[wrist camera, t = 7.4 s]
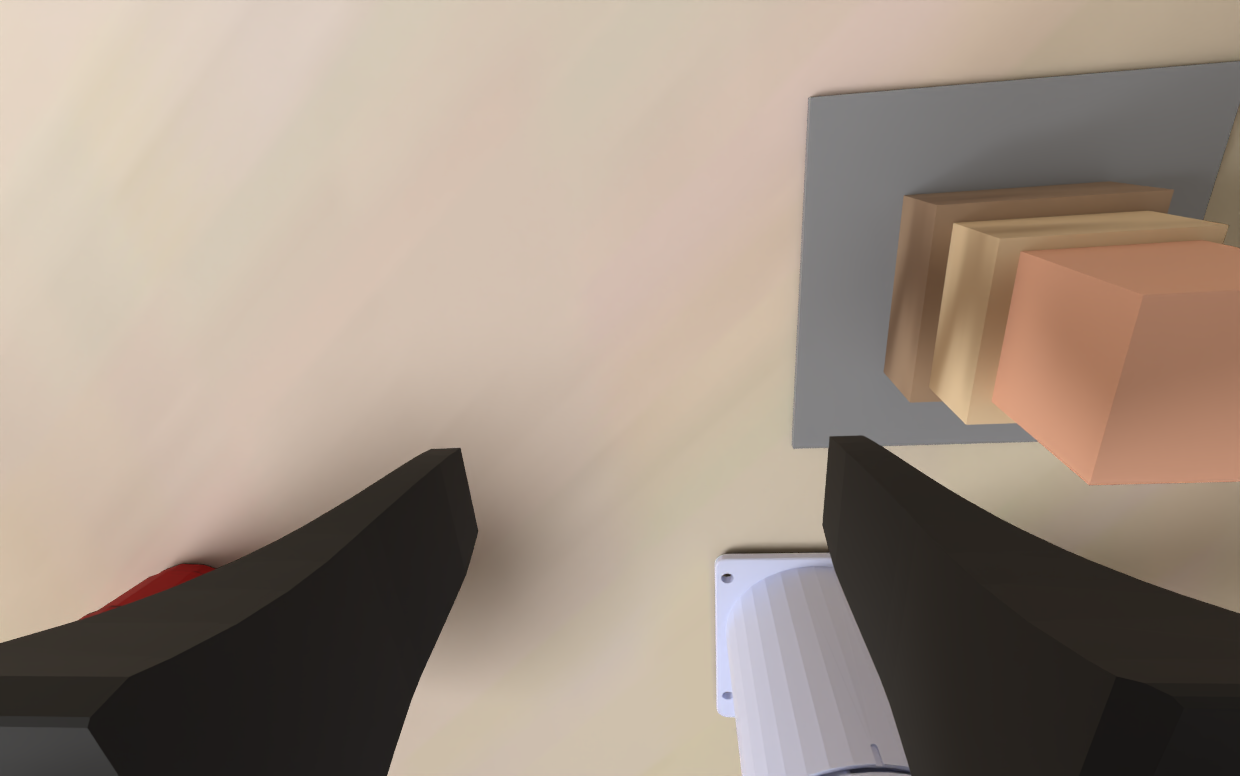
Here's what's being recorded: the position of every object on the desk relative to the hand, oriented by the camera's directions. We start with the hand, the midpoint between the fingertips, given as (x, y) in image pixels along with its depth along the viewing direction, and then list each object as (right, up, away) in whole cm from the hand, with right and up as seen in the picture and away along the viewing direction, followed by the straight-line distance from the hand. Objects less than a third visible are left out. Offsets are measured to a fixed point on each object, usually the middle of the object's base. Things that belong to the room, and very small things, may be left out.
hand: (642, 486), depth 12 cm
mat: (+12, +5, +8) cm, 15 cm away
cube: (+11, +3, +3) cm, 12 cm away
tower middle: (+11, +4, +6) cm, 13 cm away
